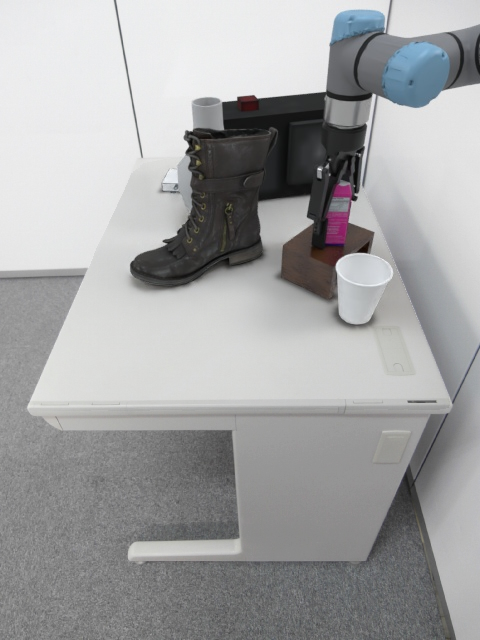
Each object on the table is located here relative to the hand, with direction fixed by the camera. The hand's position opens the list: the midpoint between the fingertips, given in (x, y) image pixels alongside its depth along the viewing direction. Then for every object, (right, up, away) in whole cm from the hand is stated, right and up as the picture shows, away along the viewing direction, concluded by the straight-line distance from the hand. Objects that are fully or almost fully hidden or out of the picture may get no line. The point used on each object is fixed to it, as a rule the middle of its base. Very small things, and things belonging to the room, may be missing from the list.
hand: (329, 237), depth 90 cm
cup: (+4, -16, -5) cm, 17 cm away
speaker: (-7, +20, +35) cm, 41 cm away
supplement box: (0, 0, 0) cm, 0 cm away
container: (-34, +22, +38) cm, 56 cm away
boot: (-26, -5, +8) cm, 28 cm away
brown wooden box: (0, -6, +6) cm, 8 cm away
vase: (-25, +9, +23) cm, 35 cm away
